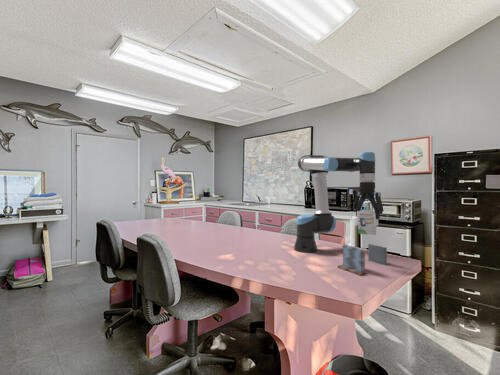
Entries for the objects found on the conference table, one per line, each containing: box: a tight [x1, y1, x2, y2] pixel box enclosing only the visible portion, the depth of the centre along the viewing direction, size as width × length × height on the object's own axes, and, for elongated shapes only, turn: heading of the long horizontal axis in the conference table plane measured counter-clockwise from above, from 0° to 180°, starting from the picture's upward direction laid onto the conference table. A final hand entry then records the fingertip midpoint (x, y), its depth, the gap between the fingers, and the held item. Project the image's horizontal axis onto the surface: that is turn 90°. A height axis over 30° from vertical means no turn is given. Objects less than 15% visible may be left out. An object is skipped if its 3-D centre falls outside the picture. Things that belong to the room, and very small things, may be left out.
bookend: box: [367, 243, 391, 266], centre depth 143 cm, size 10×4×9 cm, turn 29°
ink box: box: [357, 210, 377, 236], centre depth 138 cm, size 9×5×12 cm, turn 62°
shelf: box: [337, 244, 368, 277], centre depth 138 cm, size 14×27×12 cm, turn 119°
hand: (367, 224), depth 138 cm, fingers closed on ink box, 9 cm apart
